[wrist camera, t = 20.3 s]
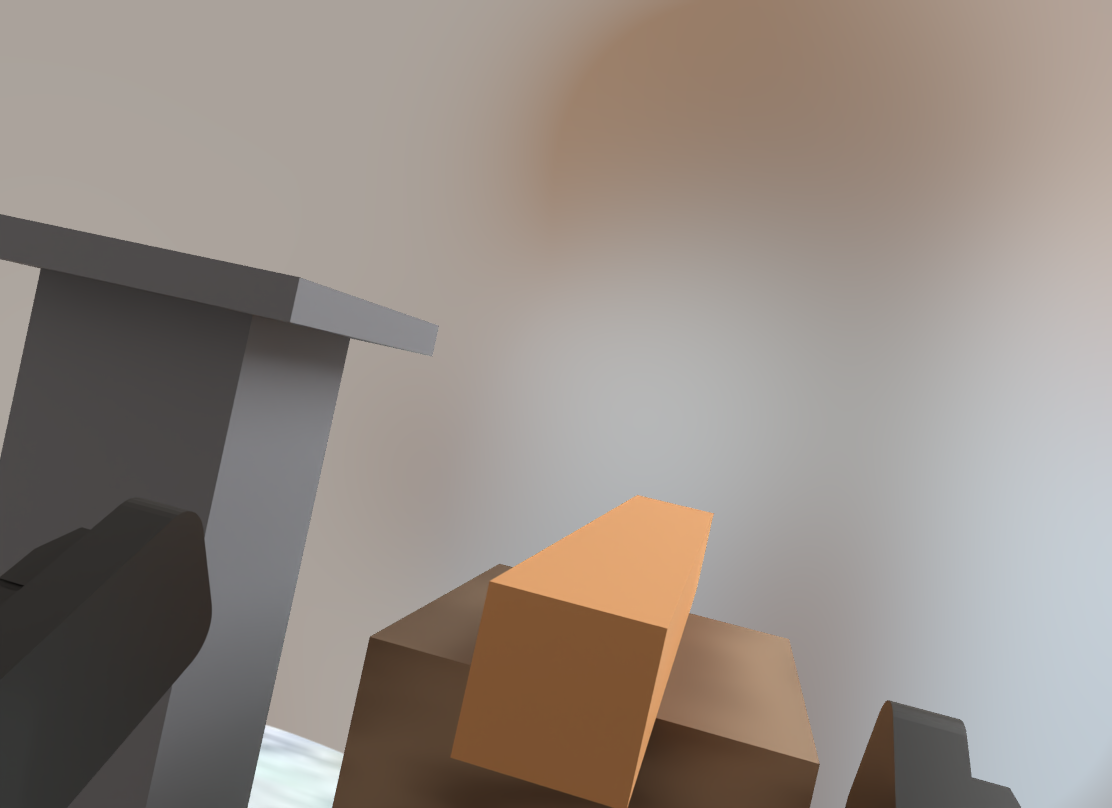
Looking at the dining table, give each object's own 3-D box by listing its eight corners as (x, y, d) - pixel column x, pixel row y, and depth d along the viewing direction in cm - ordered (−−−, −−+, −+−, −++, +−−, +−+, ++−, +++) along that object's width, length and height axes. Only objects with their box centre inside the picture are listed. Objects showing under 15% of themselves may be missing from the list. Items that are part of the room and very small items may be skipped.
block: (696, 589, 37) (713, 513, 37) (626, 811, 15) (667, 629, 15) (620, 570, 38) (637, 495, 38) (450, 757, 16) (489, 580, 16)
